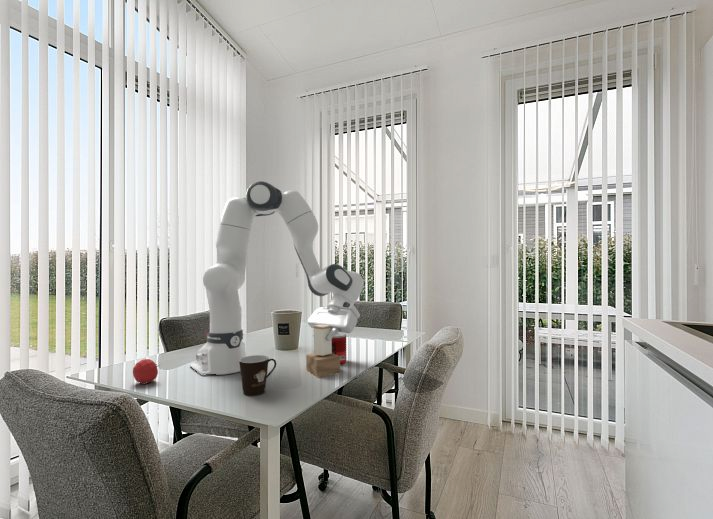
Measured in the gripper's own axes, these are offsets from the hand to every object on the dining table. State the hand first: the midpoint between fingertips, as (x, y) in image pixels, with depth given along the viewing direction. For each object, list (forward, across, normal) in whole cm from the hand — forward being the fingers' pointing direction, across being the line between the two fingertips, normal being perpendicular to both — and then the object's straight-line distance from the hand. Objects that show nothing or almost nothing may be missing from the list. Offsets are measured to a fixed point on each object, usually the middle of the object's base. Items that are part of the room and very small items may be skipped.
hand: (321, 338), depth 127 cm
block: (+8, 0, +9) cm, 12 cm away
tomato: (+39, -39, -21) cm, 59 cm away
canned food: (0, -4, +18) cm, 18 cm away
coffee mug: (+26, -2, -9) cm, 28 cm away
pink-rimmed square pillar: (+3, 0, +4) cm, 5 cm away
